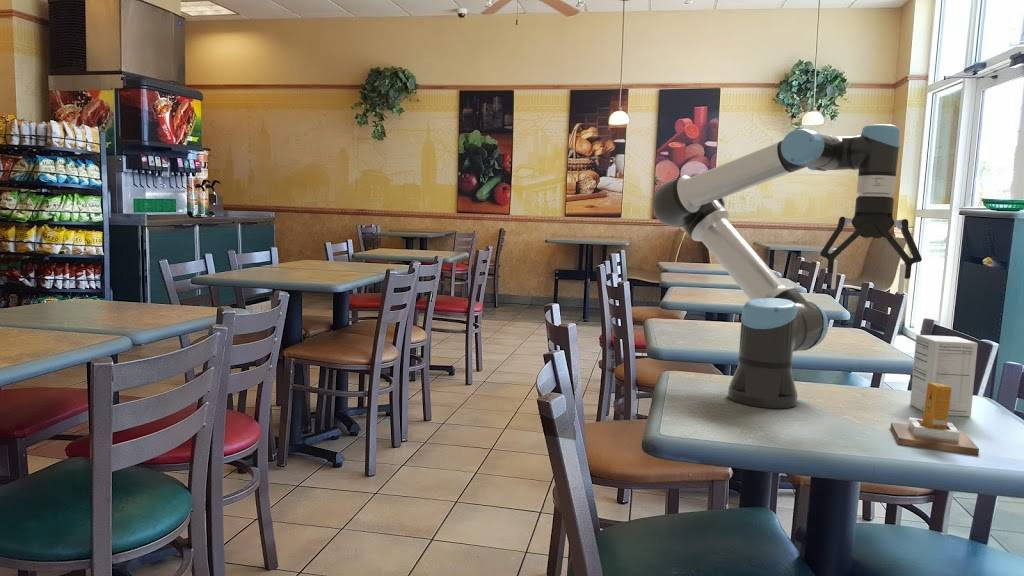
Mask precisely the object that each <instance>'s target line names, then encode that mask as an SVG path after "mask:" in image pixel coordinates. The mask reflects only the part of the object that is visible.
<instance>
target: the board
mask: <svg viewBox="0 0 1024 576" xmlns="http://www.w3.org/2000/svg"><path fill="white" fill-rule="evenodd" d="M908 424H909V423H908ZM908 424H907V423H899V422H894V421H892V422H890V430H891V432H892V434H893V436H894V438H895V440H896V442H897V444H898V445H900V446H901V445H903V446H910V447H917V448H924V449H931V450H937V451H938V450H939V451H944V450H945V452H952V453H961V454H967V455H973V456H979V451H980V448H979V447H978V446H977V444H976V443H975V442H974V441H973V440H972V439H971V437H970V436H969V435H968V433H966V432H965V431H961V430H960V431H959V430H958V431H959V432H960V436H959V443H954V442H947V441H940V440H932V439H925V438H918V437H914V436H913V435H912V433H911V431H910V429H909V428H908Z"/></svg>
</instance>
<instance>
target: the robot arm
mask: <svg viewBox="0 0 1024 576" xmlns="http://www.w3.org/2000/svg"><path fill="white" fill-rule="evenodd" d="M900 132H901V130H900V128H899V127H898V126H897V125H894V124H889V123H887V124H886V123H885V124H883V123H881V124H879V123H877V124H870V125H865V126H864V127H863V128H862V130H861V133H860V134H859V135H854V136H835V135H831V134H828V133H822V132H820V131H816V130H813V129H810V128H797V129H794V130H791V131H790V132H788V134H786V135H785V137H784V138H782V139H783V140H780V141H778V142H775V143H773V144H770V145H768V146H765V147H763V148H761V149H758V150H756V151H753V152H751V153H748V154H745V155H742V156H741V157H738V158H735V159H733V160H731V161H727V162H725V163H724V164H720V165H719V166H716V167H713V168H711V169H709V170H705V171H703V172H701V173H698V174H695V175H694V176H688V175H683V176H680V177H678V178H675V179H672V180H670V181H668V182H666V183H663V184H662V185H661V186H660V187H658V189H657V190H655V192H654V194H653V197H652V199H651V200H652V201H651V208H652V212H653V214H654V216H655V218H656V219H657V221H659V222H660V223H662V224H663V225H665V226H669V227H676V228H682V229H683V230H684V231H685V232H686V233H687V234H688V236H689V237H690V238H691V239H692V240H693V241H694V242H702V244H703V245H704V246H705V247H706V249H708V251H709V252H710V253H711V255H712V256H713V257H714V258H715V259H716V260H717V262H718V263H719V264H720V265H721V267H723V269H724V270H725V271H726V272H727V273H728V275H729V276H730V278H731V279H732V280H733V281H734V282H735V283H736V285H738V287H739V288H740V289H741V290H742V292H743V293H744V294H745V295H746V296H747V298H748V299H749V300H748V301H746V302H745V303H744V305H743V307H742V311H741V312H742V313H741V316H740V334H739V349H738V362H737V367H736V369H735V371H734V374H733V375H732V378H731V381H730V383H729V385H728V389H727V391H728V392H727V397H728V398H729V399H730V400H732V401H734V402H735V403H740V404H744V405H747V406H751V407H752V406H753V407H758V408H765V409H767V408H768V409H790V408H794V407H796V406H797V405H798V393H797V392H798V391H797V387H796V385H795V380H794V376H793V372H792V368H793V367H792V366H793V365H792V364H793V356H794V353H793V352H799V351H802V352H804V351H807V350H811V349H812V348H814V347H816V346H818V345H820V344H821V343H822V342H823V340H824V339H825V338H826V336H827V334H828V329H829V319H828V316H827V313H826V312H825V310H824V309H823V307H821V306H820V305H819V304H817V303H814V301H809V300H807V299H805V297H804V296H803V294H801V293H800V292H799V290H797V288H796V287H794V286H786V285H785V284H784V283H783V282H782V280H780V278H779V277H777V275H776V274H775V273H774V271H773V270H772V269H771V268H770V267H769V266H768V265H767V263H765V261H764V260H763V259H762V258H761V257H760V256H759V254H758V253H757V252H756V251H755V250H754V249H753V248H752V246H750V244H749V243H748V242H747V241H746V240H745V238H744V237H743V236H742V235H741V234H740V232H738V230H737V229H736V228H735V227H734V226H733V225H732V224H731V222H730V221H729V216H730V213H729V211H728V210H727V209H726V208H725V206H726V203H725V199H724V198H725V197H729V196H732V195H733V194H734V195H735V194H736V193H739V192H742V191H744V190H747V189H751V188H753V187H756V186H758V185H761V184H765V183H766V182H768V181H772V180H774V179H777V178H780V177H783V176H786V175H788V174H791V173H795V172H797V171H800V170H802V169H805V168H807V169H808V170H810V171H811V170H812V171H820V172H821V171H822V172H827V171H842V170H843V171H845V170H854V171H855V170H858V173H857V182H856V183H857V185H856V186H857V187H856V194H857V195H858V196H857V197H856V199H855V206H854V215H853V218H849V217H845V216H840V217H839V218H838V222H837V226H836V228H835V230H834V231H833V232H832V233H831V236H830V237H829V239H828V240H827V241H826V243H825V245H824V246H823V248H822V249H821V251H820V253H819V255H820V256H821V257H823V258H825V259H827V266H826V267H827V271H826V272H827V274H828V275H831V283H830V285H831V286H830V289H831V290H836V286H837V285H836V284H837V273H838V262H839V260H838V259H837V260H836V258H837V257H838V256H839V255H840V254H841V253H842V252H843V251H844V250H846V249H847V247H849V246H850V244H852V243H853V242H854V241H855V240H856V239H857V238H859V237H861V238H863V239H864V238H865V239H867V238H873V239H881V238H884V239H885V241H886V242H887V243H888V244H889V246H890V247H891V248H892V249H893V250H894V251H895V252H896V254H897V255H898V256H899V258H900V259H901V260H902V261H903V263H900V266H899V275H898V285H897V294H898V295H904V289H905V280H910V278H911V274H912V273H911V272H912V266H913V264H917V263H920V262H922V260H923V259H922V256H921V253H920V251H919V249H918V247H917V244H916V243H915V241H914V238H913V236H912V234H911V232H910V229H909V219H907V218H903V219H894V218H893V217H894V216H893V213H894V203H895V198H894V197H892V196H893V195H895V192H896V191H895V190H896V181H897V180H896V178H897V168H898V161H899V154H900V147H901V145H900ZM849 224H851V225H852V226H853V228H854V229H855V230H854V231H853V232H852V233H850V235H849V236H848V237H847V238H846V239H845V240H844V241H843V242H842V243H840V244H839V245H838V246H837V247H836V248H835V249H834V250H833V251H832V252H831V253H829V251H830V249H831V248H832V247H833V245H834V244H835V242H836V241H837V239H838V237H839V236H840V234H841V233H842V231H843V229H844V228H846V227H848V226H849ZM894 226H896V228H897V229H898V230H900V231H901V234H902V237H903V238H904V241H905V243H906V245H907V247H908V250H909V252H910V254H911V256H912V257H910V256H909V255H908V254H907V252H906V251H905V250H904V249H903V248H902V247H901V245H900V244H899V242H897V240H896V239H895V237H894V236H893V235H892V233H890V230H891V229H892V228H893V227H894Z"/></svg>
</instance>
